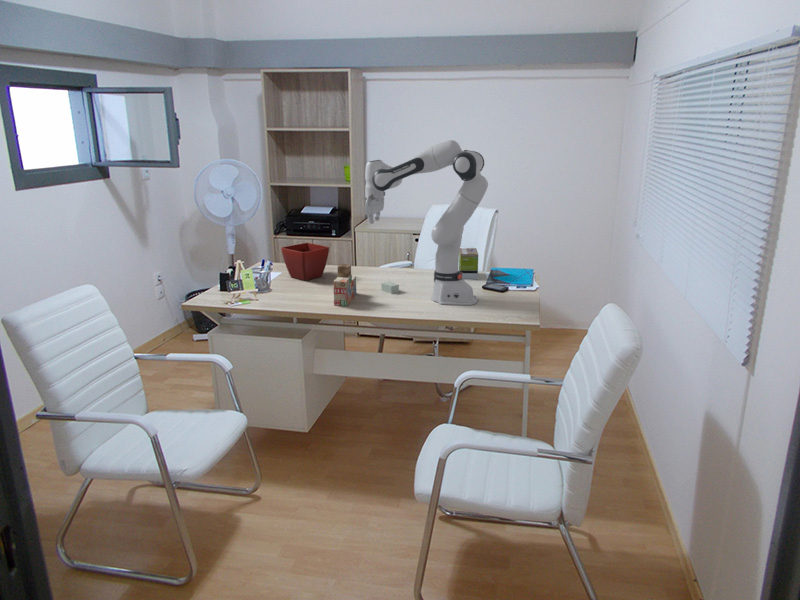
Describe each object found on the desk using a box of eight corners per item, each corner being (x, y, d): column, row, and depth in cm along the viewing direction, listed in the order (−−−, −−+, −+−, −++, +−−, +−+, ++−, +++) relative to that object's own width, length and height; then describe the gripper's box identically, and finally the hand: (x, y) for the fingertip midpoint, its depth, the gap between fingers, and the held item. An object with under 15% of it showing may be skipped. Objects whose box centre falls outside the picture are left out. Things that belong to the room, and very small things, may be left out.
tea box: (458, 272, 338) (458, 247, 333) (475, 273, 337) (476, 247, 333) (459, 279, 323) (460, 253, 319) (477, 280, 323) (479, 253, 318)
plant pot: (308, 270, 340) (307, 242, 335) (331, 276, 328) (330, 246, 323) (281, 277, 326) (280, 247, 321) (304, 283, 314) (303, 252, 309)
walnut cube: (351, 274, 285) (350, 264, 283) (347, 277, 280) (347, 267, 278) (341, 274, 286) (341, 264, 284) (337, 276, 281) (337, 266, 280)
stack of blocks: (344, 293, 298) (343, 269, 294) (356, 293, 297) (356, 270, 293) (333, 305, 278) (333, 280, 274) (346, 306, 277) (346, 281, 273)
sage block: (389, 288, 306) (389, 281, 305) (398, 292, 300) (398, 284, 299) (381, 290, 303) (381, 283, 302) (391, 294, 297) (391, 286, 296)
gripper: (374, 196, 278) (374, 225, 282) (386, 191, 297) (386, 219, 301) (361, 196, 280) (361, 225, 284) (374, 191, 299) (374, 218, 303)
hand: (374, 221), depth 293 cm, fingers open, 8 cm apart
